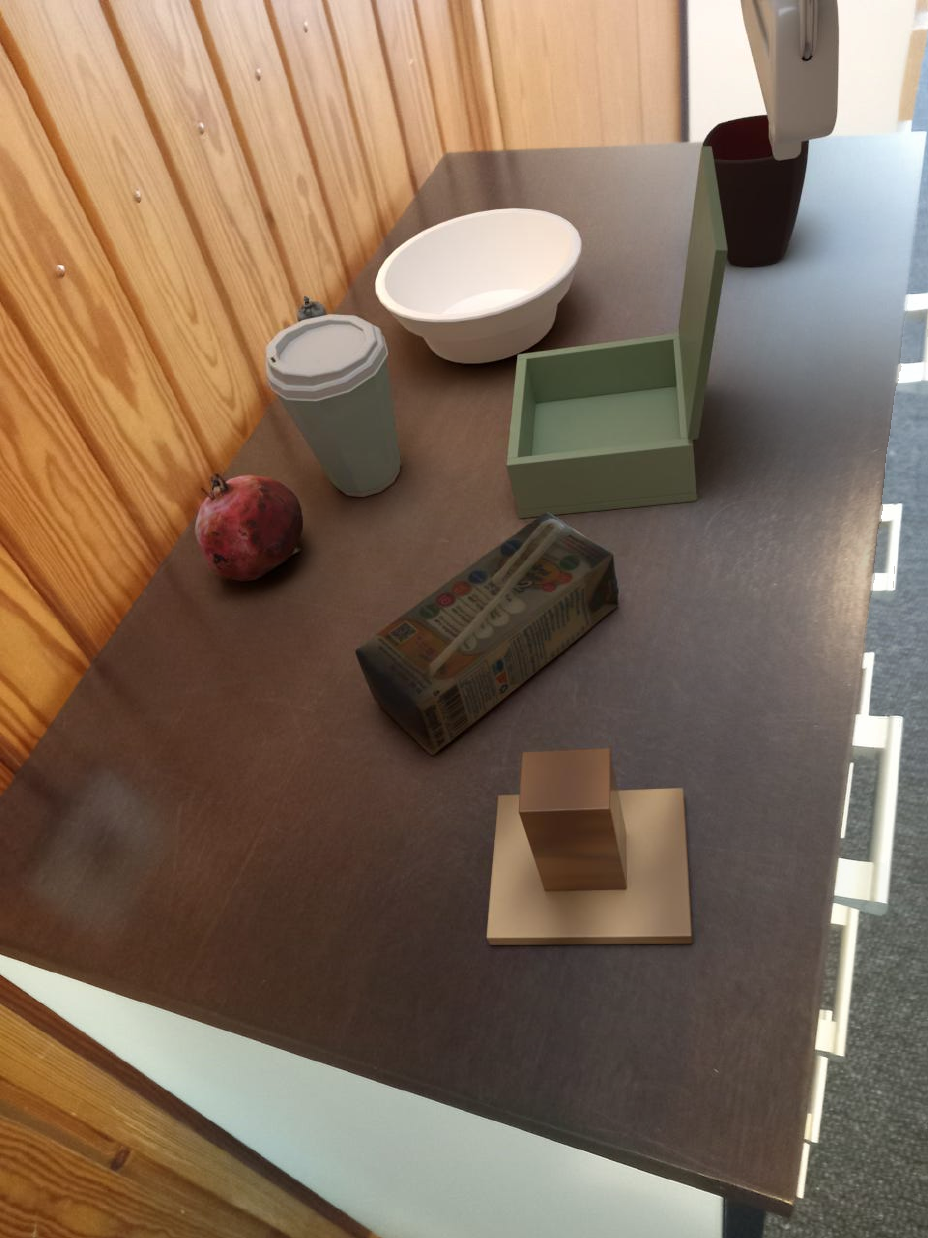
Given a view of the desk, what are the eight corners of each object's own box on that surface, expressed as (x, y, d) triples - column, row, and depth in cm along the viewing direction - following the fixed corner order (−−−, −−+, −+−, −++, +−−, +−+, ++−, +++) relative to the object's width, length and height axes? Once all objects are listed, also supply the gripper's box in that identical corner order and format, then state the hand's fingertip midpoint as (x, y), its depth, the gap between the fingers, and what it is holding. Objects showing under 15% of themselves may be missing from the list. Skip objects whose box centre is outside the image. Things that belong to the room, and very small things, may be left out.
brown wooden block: (626, 831, 64) (610, 747, 58) (627, 890, 61) (610, 808, 55) (546, 833, 65) (522, 751, 59) (544, 891, 63) (518, 812, 56)
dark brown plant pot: (701, 279, 106) (695, 165, 98) (718, 212, 115) (714, 102, 106) (802, 275, 103) (805, 156, 94) (812, 206, 112) (815, 91, 103)
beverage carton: (627, 607, 78) (618, 545, 73) (434, 765, 72) (410, 708, 67) (556, 561, 83) (543, 500, 78) (369, 705, 77) (343, 648, 72)
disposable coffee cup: (399, 426, 101) (354, 288, 90) (443, 482, 93) (400, 339, 82) (300, 472, 99) (242, 337, 88) (337, 532, 92) (279, 393, 81)
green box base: (519, 518, 88) (506, 465, 83) (528, 406, 98) (517, 354, 94) (697, 501, 84) (693, 444, 80) (687, 387, 95) (683, 331, 91)
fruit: (337, 549, 90) (300, 460, 83) (251, 614, 87) (205, 527, 80) (279, 510, 96) (239, 423, 88) (196, 570, 92) (148, 485, 85)
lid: (715, 249, 68) (728, 249, 68) (701, 145, 79) (711, 145, 79) (687, 439, 80) (698, 439, 80) (678, 327, 90) (687, 327, 90)
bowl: (516, 257, 118) (502, 188, 112) (634, 320, 104) (626, 245, 98) (361, 341, 113) (338, 273, 107) (463, 419, 99) (444, 345, 93)
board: (684, 796, 66) (683, 787, 65) (692, 944, 59) (691, 936, 59) (500, 803, 69) (497, 794, 68) (489, 945, 62) (486, 938, 61)
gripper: (875, -39, 53) (857, 215, 63) (820, -139, 67) (813, 83, 77) (749, -14, 55) (751, 231, 65) (720, -117, 68) (726, 98, 78)
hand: (784, 150), depth 71 cm, fingers closed
